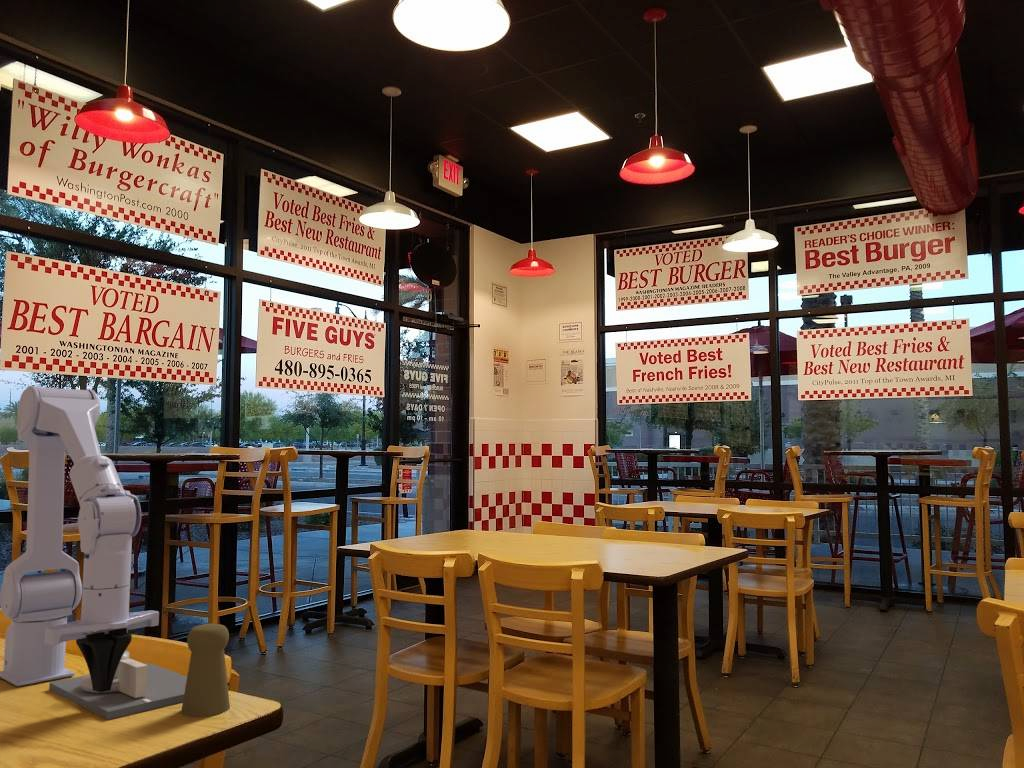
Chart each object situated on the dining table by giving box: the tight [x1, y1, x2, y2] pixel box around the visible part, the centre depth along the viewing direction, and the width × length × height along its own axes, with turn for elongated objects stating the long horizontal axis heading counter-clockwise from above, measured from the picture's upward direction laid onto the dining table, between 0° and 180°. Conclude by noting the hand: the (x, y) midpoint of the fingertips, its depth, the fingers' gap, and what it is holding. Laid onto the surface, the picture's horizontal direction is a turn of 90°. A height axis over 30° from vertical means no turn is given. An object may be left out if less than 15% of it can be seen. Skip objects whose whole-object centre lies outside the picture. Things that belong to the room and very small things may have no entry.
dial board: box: [48, 662, 187, 721], centre depth 113 cm, size 20×14×1 cm
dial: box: [80, 650, 148, 698], centre depth 111 cm, size 13×8×4 cm, turn 49°
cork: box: [180, 623, 231, 718], centre depth 106 cm, size 6×6×11 cm
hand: (101, 690), depth 106 cm, fingers closed
